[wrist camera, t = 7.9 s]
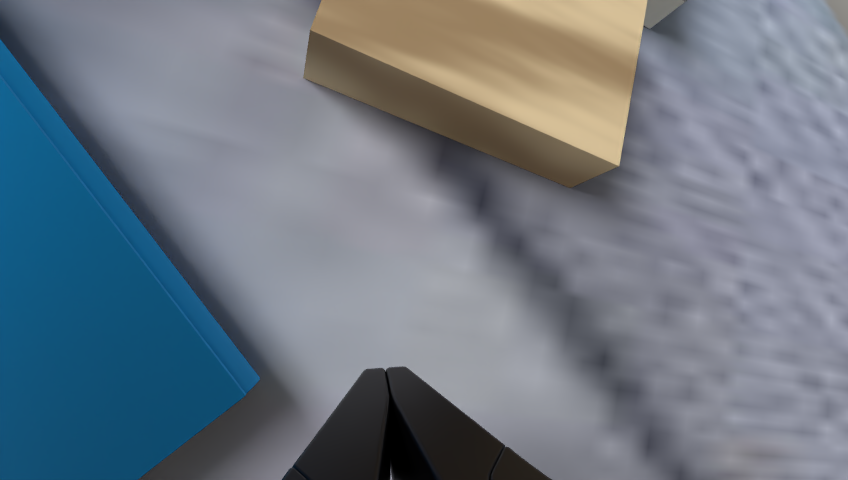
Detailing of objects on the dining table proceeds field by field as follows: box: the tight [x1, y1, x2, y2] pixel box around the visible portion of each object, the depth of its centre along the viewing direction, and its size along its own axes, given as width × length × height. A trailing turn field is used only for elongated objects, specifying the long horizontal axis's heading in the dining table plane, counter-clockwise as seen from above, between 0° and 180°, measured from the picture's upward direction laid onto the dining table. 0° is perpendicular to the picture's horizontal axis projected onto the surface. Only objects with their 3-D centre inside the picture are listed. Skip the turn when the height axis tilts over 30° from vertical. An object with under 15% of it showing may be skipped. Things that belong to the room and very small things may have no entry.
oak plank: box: [303, 0, 647, 188], centre depth 22 cm, size 4×14×10 cm
